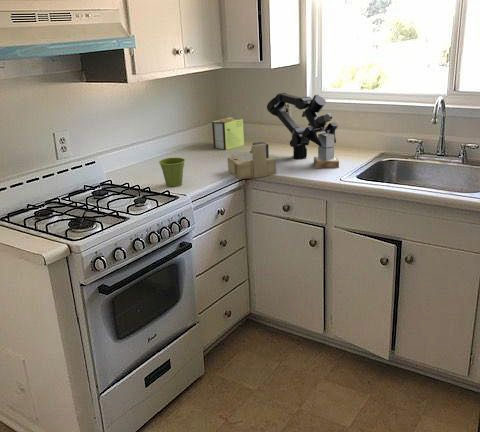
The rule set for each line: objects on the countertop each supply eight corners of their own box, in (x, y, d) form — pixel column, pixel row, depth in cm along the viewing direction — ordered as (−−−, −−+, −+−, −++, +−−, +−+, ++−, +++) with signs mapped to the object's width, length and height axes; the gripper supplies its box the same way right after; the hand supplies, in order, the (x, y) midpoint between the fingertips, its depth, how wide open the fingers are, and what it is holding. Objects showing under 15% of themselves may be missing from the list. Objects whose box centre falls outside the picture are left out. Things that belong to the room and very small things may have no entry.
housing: (318, 158, 264) (318, 134, 260) (325, 156, 267) (326, 132, 263) (326, 160, 259) (326, 135, 255) (334, 158, 262) (334, 134, 258)
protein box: (244, 145, 315) (243, 118, 310) (225, 150, 305) (224, 122, 299) (231, 143, 322) (230, 117, 316) (213, 148, 311) (211, 121, 306)
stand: (315, 168, 259) (315, 161, 258) (313, 162, 270) (313, 156, 269) (338, 167, 259) (338, 160, 258) (336, 161, 269) (336, 155, 268)
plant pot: (156, 187, 241) (153, 163, 237) (168, 180, 251) (166, 156, 247) (180, 189, 237) (177, 164, 233) (191, 181, 247) (189, 158, 243)
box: (269, 165, 269) (268, 144, 266) (258, 166, 267) (257, 145, 264) (263, 161, 276) (262, 141, 272) (252, 163, 274) (252, 142, 271)
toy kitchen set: (263, 166, 268) (262, 136, 262) (276, 174, 253) (276, 143, 248) (227, 171, 262) (226, 141, 257) (239, 180, 247) (238, 147, 242)
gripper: (305, 110, 253) (321, 137, 248) (335, 105, 263) (351, 131, 258) (295, 124, 262) (310, 151, 257) (325, 119, 272) (339, 145, 267)
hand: (328, 144), depth 259 cm, fingers open, 9 cm apart
